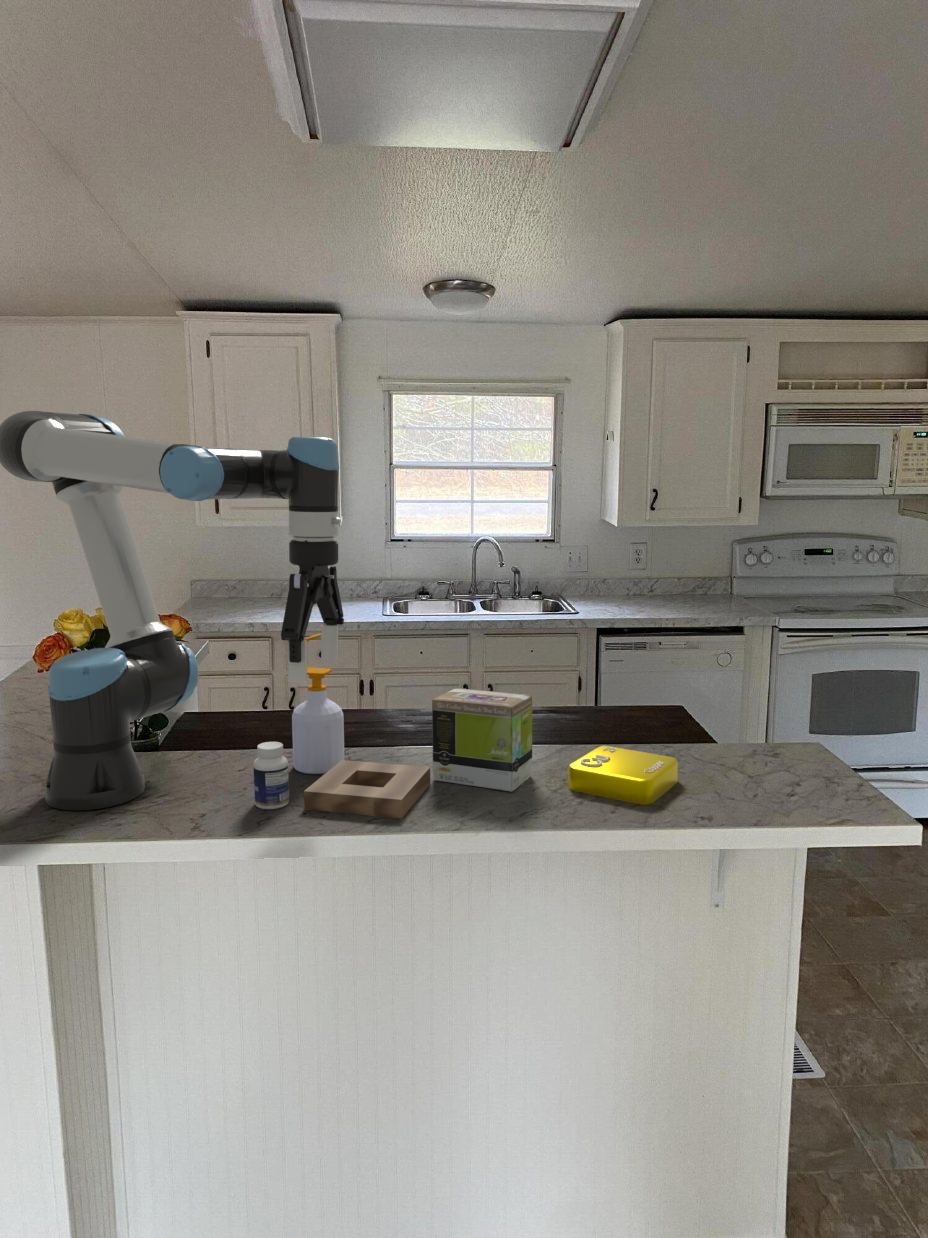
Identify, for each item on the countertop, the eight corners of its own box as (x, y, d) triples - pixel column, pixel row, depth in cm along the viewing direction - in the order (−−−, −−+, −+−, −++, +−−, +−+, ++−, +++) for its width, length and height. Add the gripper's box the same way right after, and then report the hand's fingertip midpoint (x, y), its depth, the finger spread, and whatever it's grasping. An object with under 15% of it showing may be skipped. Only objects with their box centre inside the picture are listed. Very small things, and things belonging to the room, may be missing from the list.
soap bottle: (334, 776, 154) (331, 638, 150) (285, 773, 155) (281, 636, 152) (351, 760, 162) (348, 629, 158) (304, 757, 164) (300, 627, 160)
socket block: (304, 809, 138) (303, 791, 138) (342, 776, 154) (341, 760, 153) (401, 818, 134) (401, 799, 134) (430, 784, 150) (430, 767, 149)
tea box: (533, 776, 154) (534, 693, 152) (512, 794, 145) (512, 707, 143) (455, 764, 160) (455, 685, 158) (430, 781, 151) (430, 697, 149)
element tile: (648, 808, 140) (649, 779, 139) (563, 791, 148) (564, 763, 147) (680, 782, 152) (681, 755, 151) (600, 767, 160) (601, 741, 159)
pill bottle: (252, 800, 142) (249, 742, 140) (285, 796, 144) (283, 738, 143) (258, 812, 137) (255, 751, 136) (292, 807, 139) (290, 747, 138)
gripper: (306, 545, 123) (307, 693, 127) (362, 534, 147) (362, 658, 151) (256, 543, 125) (258, 689, 128) (320, 532, 149) (320, 655, 152)
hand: (314, 673), depth 140 cm, fingers open, 13 cm apart
